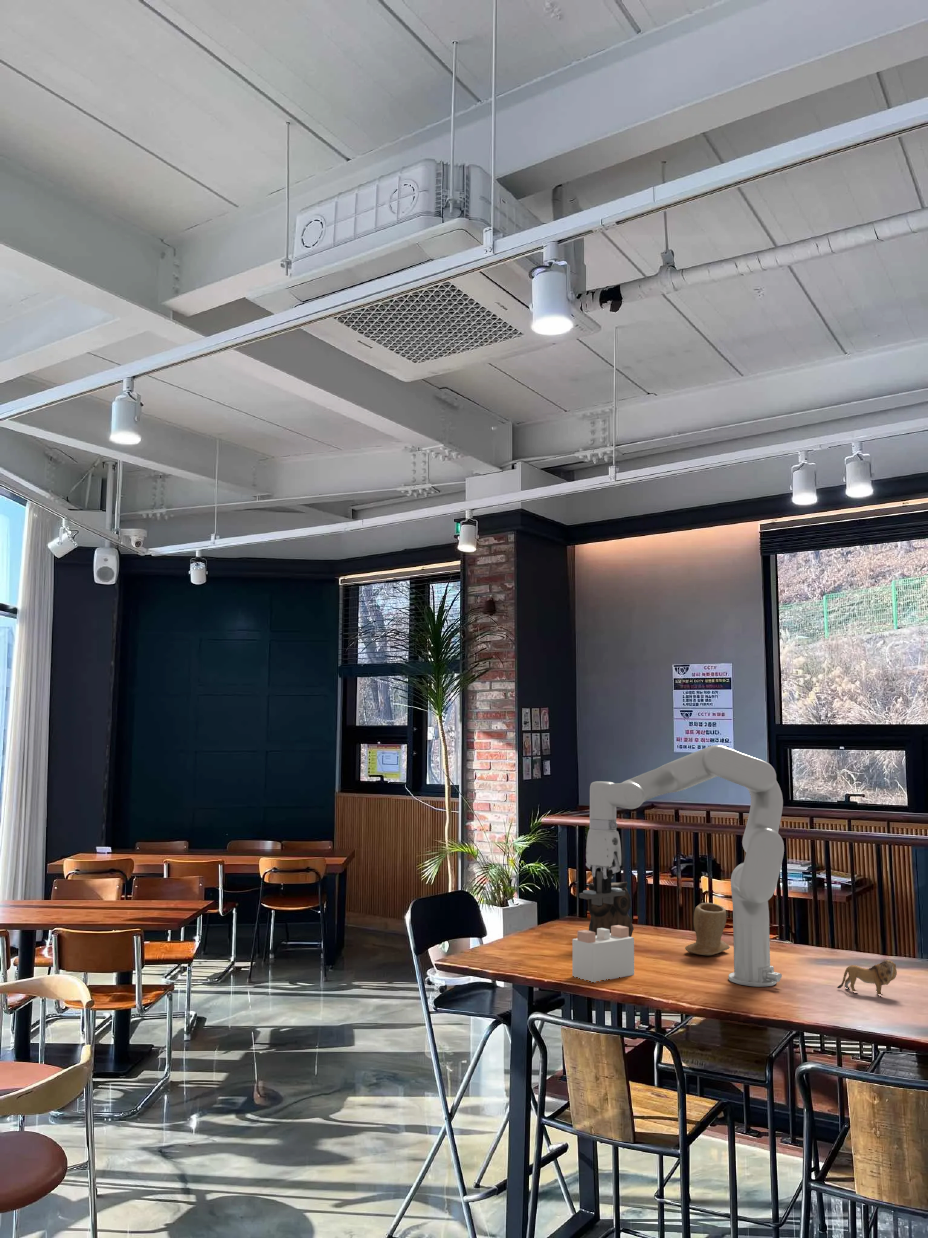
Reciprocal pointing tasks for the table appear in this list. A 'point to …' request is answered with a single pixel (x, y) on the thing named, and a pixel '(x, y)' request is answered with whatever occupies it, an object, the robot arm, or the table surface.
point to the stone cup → (708, 929)
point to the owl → (611, 911)
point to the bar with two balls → (599, 895)
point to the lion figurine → (871, 975)
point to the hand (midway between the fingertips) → (602, 891)
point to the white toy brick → (603, 954)
